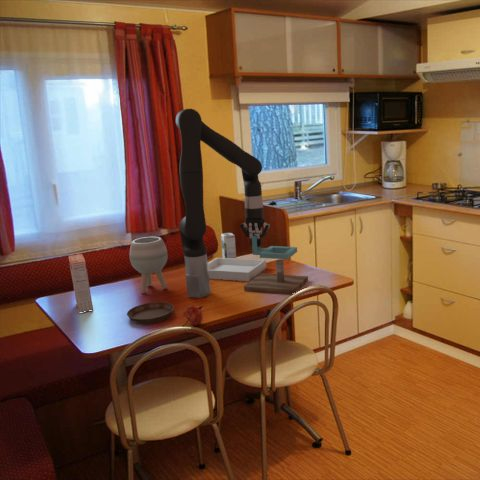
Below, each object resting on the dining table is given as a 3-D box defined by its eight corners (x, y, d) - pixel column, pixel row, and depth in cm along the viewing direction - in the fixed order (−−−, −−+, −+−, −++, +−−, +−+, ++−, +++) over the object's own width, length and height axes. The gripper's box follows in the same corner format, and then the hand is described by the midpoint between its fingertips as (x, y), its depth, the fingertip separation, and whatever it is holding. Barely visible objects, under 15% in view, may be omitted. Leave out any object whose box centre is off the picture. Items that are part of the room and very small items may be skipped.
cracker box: (75, 303, 227) (67, 255, 222) (90, 301, 229) (83, 253, 224) (78, 314, 214) (70, 263, 209) (93, 311, 216) (86, 260, 211)
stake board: (294, 294, 217) (292, 268, 215) (244, 290, 227) (242, 265, 224) (308, 280, 233) (306, 256, 230) (260, 277, 242) (259, 253, 240)
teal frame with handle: (287, 259, 218) (286, 240, 216) (248, 257, 225) (247, 238, 223) (297, 251, 228) (296, 233, 227) (260, 249, 236) (258, 231, 234)
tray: (249, 281, 238) (248, 272, 237) (197, 277, 249) (196, 269, 248) (266, 268, 256) (265, 260, 255) (217, 265, 267) (216, 257, 266)
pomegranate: (189, 336, 191) (210, 316, 191) (174, 321, 189) (195, 301, 190) (189, 330, 198) (208, 311, 198) (175, 316, 197) (195, 297, 197)
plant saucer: (118, 319, 206) (117, 312, 205) (156, 305, 218) (155, 298, 217) (145, 330, 194) (144, 322, 193) (184, 315, 205) (183, 307, 205)
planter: (134, 297, 229) (127, 246, 223) (133, 286, 244) (127, 238, 239) (172, 292, 231) (166, 241, 226) (169, 281, 247) (164, 233, 242)
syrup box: (222, 262, 272) (220, 233, 269) (233, 260, 274) (231, 232, 270) (225, 264, 267) (223, 236, 264) (237, 262, 269) (234, 234, 265)
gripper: (235, 207, 225) (237, 248, 229) (265, 208, 219) (268, 249, 223) (242, 204, 231) (245, 243, 235) (272, 204, 226) (274, 245, 230)
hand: (256, 246), depth 229 cm, fingers closed on teal frame with handle
